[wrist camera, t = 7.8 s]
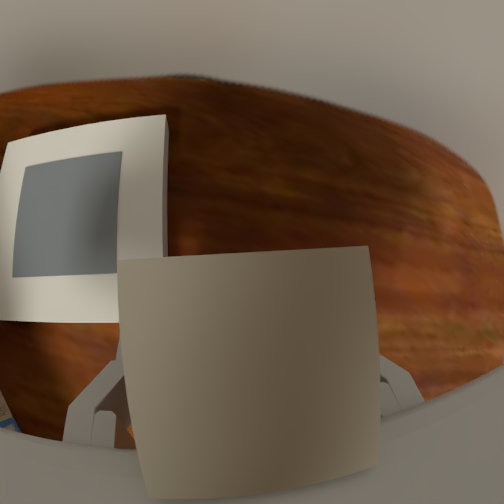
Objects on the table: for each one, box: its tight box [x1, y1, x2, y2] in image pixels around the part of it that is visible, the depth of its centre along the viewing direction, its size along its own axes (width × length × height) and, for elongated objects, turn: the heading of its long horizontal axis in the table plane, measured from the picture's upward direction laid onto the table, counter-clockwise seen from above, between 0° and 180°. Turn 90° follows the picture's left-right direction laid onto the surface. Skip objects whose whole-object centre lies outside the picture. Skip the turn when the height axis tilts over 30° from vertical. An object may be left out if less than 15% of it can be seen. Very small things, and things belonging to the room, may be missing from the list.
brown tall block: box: [117, 246, 381, 499], centre depth 10 cm, size 4×4×12 cm
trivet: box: [0, 114, 169, 323], centre depth 16 cm, size 12×12×2 cm
